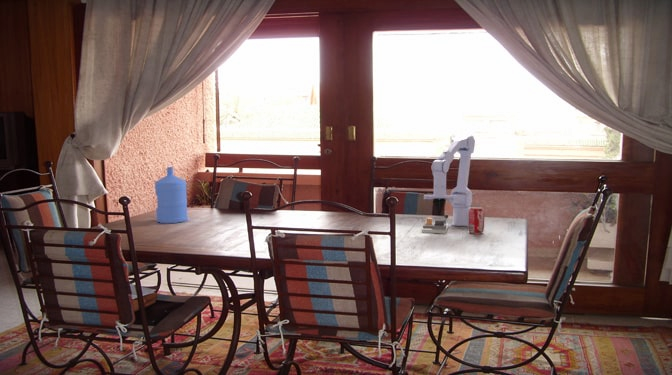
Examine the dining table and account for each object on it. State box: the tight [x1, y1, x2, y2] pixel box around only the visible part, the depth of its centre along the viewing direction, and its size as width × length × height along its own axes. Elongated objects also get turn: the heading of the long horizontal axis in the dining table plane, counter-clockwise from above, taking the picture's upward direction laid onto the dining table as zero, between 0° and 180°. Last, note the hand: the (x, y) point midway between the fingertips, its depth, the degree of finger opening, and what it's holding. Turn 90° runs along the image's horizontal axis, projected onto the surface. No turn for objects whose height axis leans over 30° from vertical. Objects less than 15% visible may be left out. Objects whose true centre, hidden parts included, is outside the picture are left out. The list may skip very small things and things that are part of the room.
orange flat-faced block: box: [426, 217, 433, 226], centre depth 299 cm, size 2×3×3 cm
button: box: [434, 219, 444, 226], centre depth 291 cm, size 4×4×2 cm
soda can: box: [467, 205, 485, 235], centre depth 286 cm, size 7×7×12 cm
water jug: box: [154, 166, 189, 224], centre depth 322 cm, size 16×16×28 cm
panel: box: [421, 220, 449, 234], centre depth 296 cm, size 11×17×4 cm, turn 166°
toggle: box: [443, 213, 449, 222], centre depth 299 cm, size 2×2×5 cm
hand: (439, 215), depth 290 cm, fingers closed
